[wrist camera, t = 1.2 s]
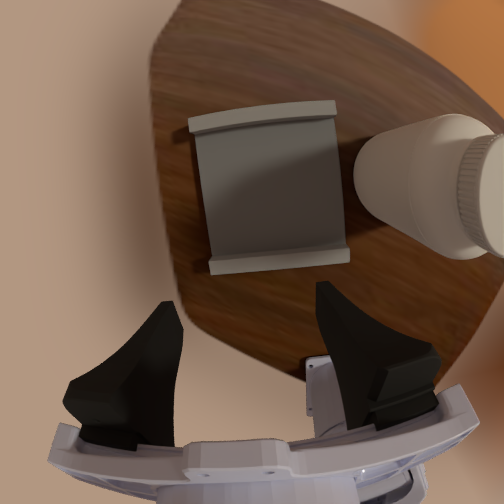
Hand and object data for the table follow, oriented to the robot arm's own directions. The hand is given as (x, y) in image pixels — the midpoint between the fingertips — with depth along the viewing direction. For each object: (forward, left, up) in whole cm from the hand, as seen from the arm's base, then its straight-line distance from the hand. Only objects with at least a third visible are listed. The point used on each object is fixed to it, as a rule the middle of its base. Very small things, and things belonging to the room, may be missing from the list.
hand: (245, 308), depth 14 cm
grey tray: (+5, -2, -11) cm, 12 cm away
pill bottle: (+5, -12, -11) cm, 17 cm away
